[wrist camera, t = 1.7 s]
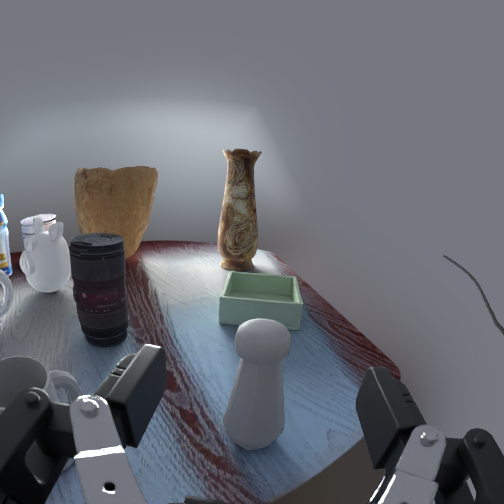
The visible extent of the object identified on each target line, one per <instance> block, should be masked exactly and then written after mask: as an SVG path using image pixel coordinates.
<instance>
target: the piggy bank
mask: <svg viewBox="0 0 504 504" xmlns="http://www.w3.org/2000/svg"><path fill="white" fill-rule="evenodd" d="M33 228H34V231H35V234H34V235H33V236H32V237H30V238H25V239H24V247H25V249H26V250H24V251H23V253H22V255H21V257H20V267H21V269H22V271H23V272H24V273H25V275H26V278H27V280H28V282H29V284H30V285H31V286H32V287H33V288H34V289H36V290H38V291H41V292H45V293H51V292H55V291H58V290H60V289H62V288H63V287H64V286H65V285H66V284H67V283H68V281H69V279H70V275H71V265H70V253H69V249H68V246H67V243H66V241H65V239H64V238H63V236H62V233H63V223H62V222H56V223H54V224H52V225H50V227H49V231H45V225H44V222H43V221H42V220H41V219H40V218H39V217H38V216H37V217H33Z"/></svg>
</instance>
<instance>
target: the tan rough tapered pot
mask: <svg viewBox="0 0 504 504" xmlns="http://www.w3.org/2000/svg"><path fill="white" fill-rule="evenodd" d="M157 178H158V172H157V170H156V168H150V167H146V166H136V167H125V168H121V169H117V170H109V169H106V168H94V169H85V168H83V169H82V168H78V170H77V172H76V174H75V178H74V186H73V199H74V205H75V211H76V215H77V224H78V226H79V230H80V232H81V235H83V234H91V233H108V234H115V235H119V236H121V237H123V239H124V247H125V255H126V259H127V258H129V257H130V256H132V255H133V254H134V253H135V252H136V250H137V249H138V247H139V244H140V242H141V240H142V237H143V235H144V233H145V231H146V228H147V226H148V223H149V219H150V214H151V209H152V204H153V199H154V193H155V188H156V185H157Z"/></svg>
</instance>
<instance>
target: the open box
mask: <svg viewBox="0 0 504 504" xmlns="http://www.w3.org/2000/svg"><path fill="white" fill-rule="evenodd" d="M302 309H303V302H302V298H301V294H300V290H299V287H298V283H297V279H296V277H293V276H281V275H269V274H257V273H246V272H235V271H230V272H229V275H228V277H227V280H226V283H225V285H224V288H223V290H222V293H221V296H220V307H219V323H221V324H230V325H241V324H243V323H245V322H246V321H248V320H252V319H256V318H261V319H270V320H275V321H277V322H279V323H281V324H283V325H284V326H285V327H286V328H287V329H289V330H299V327H300V321H301V315H302Z"/></svg>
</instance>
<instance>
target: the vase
mask: <svg viewBox="0 0 504 504" xmlns="http://www.w3.org/2000/svg"><path fill="white" fill-rule="evenodd" d="M222 151H223V153H224V155H225V157H226V159H227V162H228V170H227V179H226V186H225V193H224V199H223V206H222V212H221V218H220V224H219V232H218V249H219V253H220V255H221V256H222V257H223V261H222V262H221V264H220V266H221V267H223V268H225V269H228V270H235V271H243V270H249V269H252V268H253V267H254V265H253V263H252V261H251V259H252V258H253V257H254V256H255V254H256V251H257V243H258V228H257V215H256V203H255V190H254V165H255V162H256V161H257V159H258V157H259V156H260V154H261V153H262V152H257V151H253V152H249V151H248V150H247V149H234V151H230V150H226V151H225V150H222Z"/></svg>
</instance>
